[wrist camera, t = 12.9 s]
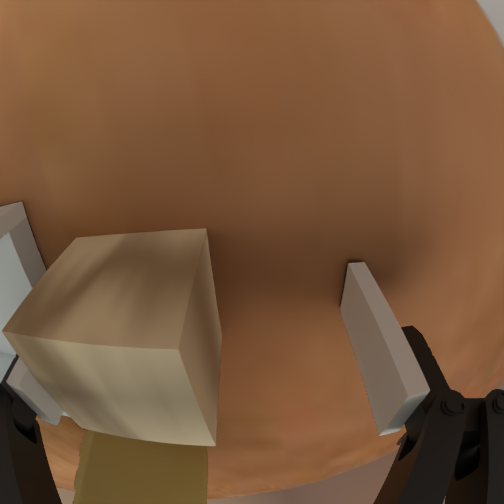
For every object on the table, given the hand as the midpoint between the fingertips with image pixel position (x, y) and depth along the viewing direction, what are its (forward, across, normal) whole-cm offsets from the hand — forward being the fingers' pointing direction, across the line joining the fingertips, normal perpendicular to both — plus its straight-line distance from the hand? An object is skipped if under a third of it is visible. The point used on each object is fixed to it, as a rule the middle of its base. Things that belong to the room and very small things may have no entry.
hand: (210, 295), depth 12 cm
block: (-3, -6, 0) cm, 6 cm away
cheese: (0, -10, -18) cm, 20 cm away
